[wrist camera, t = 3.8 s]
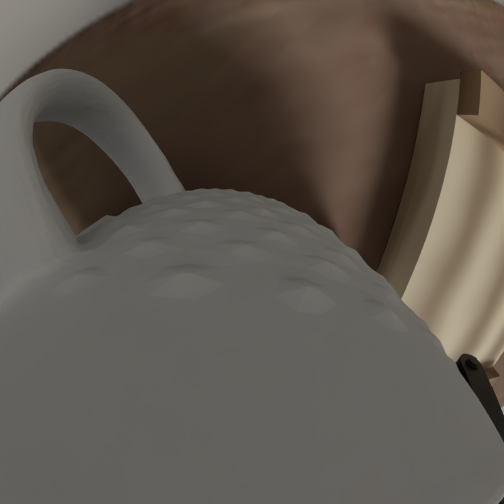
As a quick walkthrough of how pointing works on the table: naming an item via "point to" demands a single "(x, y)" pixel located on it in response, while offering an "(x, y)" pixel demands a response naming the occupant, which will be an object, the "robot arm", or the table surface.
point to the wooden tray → (455, 220)
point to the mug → (209, 345)
